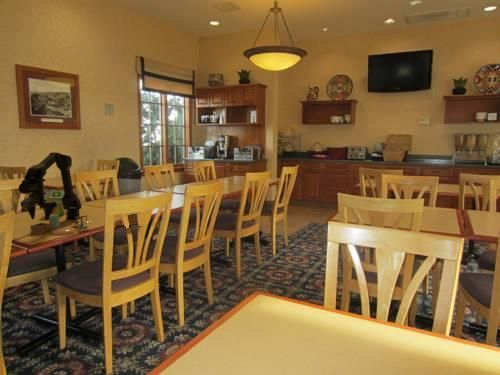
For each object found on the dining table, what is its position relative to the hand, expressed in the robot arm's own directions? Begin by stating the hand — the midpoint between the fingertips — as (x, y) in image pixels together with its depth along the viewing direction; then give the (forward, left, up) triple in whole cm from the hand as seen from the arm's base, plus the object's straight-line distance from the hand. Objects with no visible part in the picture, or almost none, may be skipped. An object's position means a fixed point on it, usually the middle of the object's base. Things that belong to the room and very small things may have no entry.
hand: (39, 219), depth 199 cm
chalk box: (-28, -35, -7) cm, 46 cm away
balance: (-18, +9, -7) cm, 21 cm away
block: (-9, -3, -7) cm, 12 cm away
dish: (-7, +10, -7) cm, 14 cm away
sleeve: (0, 0, -7) cm, 7 cm away
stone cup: (-37, +25, -7) cm, 45 cm away
